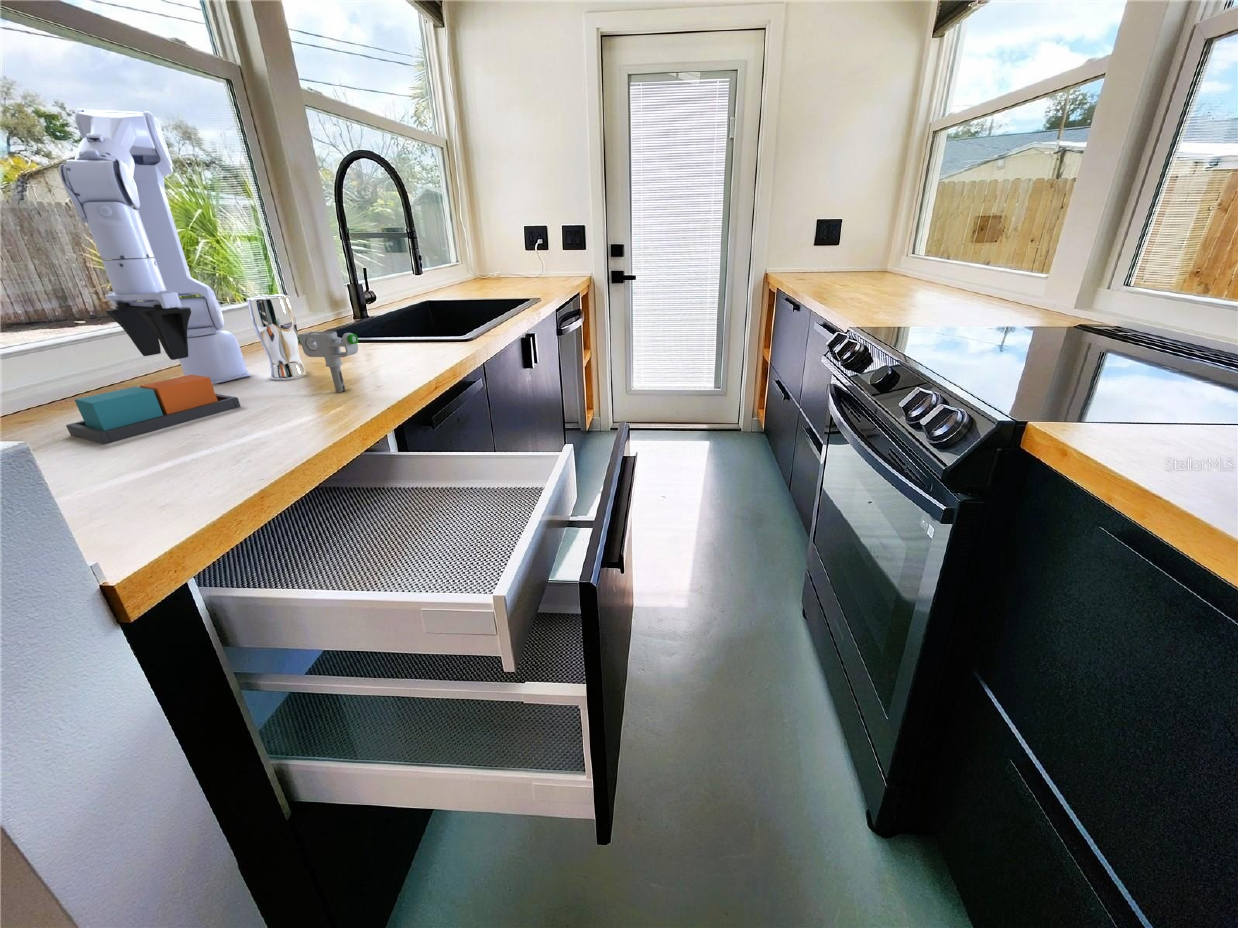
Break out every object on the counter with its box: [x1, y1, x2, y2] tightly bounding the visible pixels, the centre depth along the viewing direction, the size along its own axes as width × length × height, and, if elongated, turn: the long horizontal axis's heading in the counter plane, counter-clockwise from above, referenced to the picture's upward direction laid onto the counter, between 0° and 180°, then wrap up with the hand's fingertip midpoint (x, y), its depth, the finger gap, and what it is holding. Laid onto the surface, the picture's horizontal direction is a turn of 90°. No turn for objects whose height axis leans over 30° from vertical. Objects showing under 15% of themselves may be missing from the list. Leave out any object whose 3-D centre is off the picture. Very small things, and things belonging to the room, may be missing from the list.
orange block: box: [139, 375, 218, 415], centre depth 81 cm, size 7×5×5 cm
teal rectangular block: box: [74, 386, 163, 431], centre depth 75 cm, size 7×5×5 cm
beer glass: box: [246, 294, 308, 381], centre depth 101 cm, size 7×7×15 cm
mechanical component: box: [298, 331, 359, 394], centre depth 91 cm, size 3×10×10 cm, turn 78°
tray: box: [65, 393, 241, 446], centre depth 79 cm, size 18×10×2 cm, turn 153°
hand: (165, 356), depth 79 cm, fingers open, 7 cm apart
